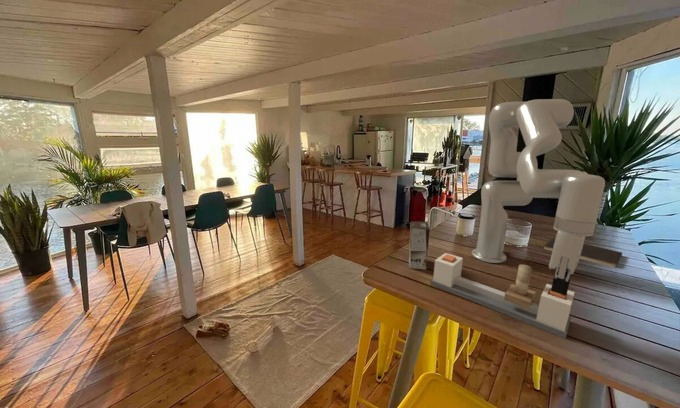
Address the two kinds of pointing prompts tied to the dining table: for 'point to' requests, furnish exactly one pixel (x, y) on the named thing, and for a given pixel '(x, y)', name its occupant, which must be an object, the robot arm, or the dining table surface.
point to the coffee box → (418, 245)
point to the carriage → (521, 288)
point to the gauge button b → (557, 295)
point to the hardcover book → (593, 254)
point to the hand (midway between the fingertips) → (558, 291)
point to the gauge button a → (449, 258)
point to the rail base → (501, 307)
